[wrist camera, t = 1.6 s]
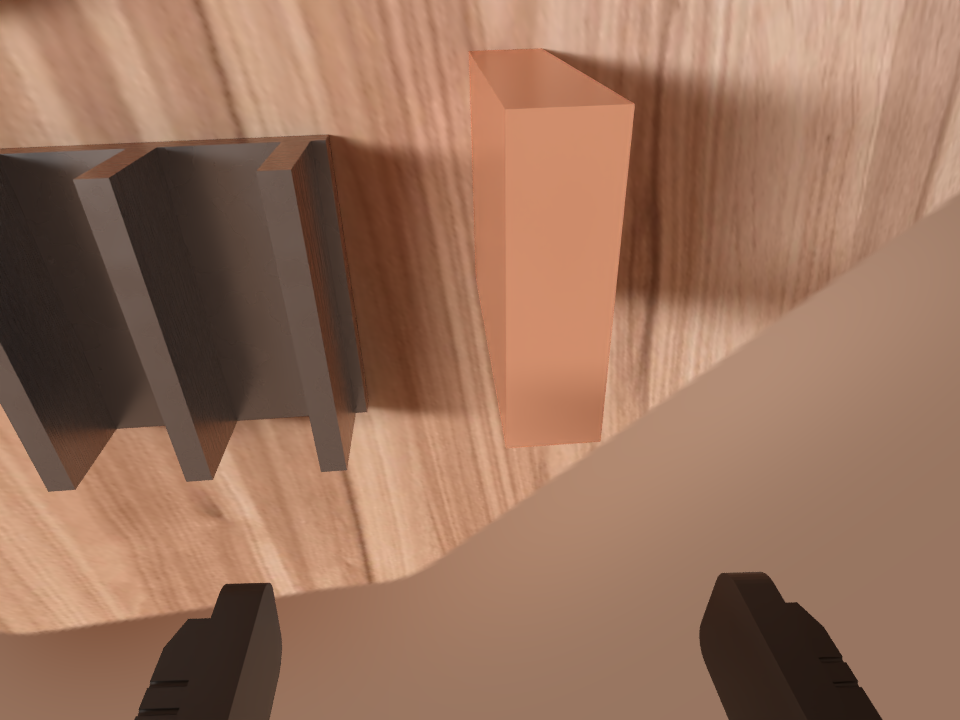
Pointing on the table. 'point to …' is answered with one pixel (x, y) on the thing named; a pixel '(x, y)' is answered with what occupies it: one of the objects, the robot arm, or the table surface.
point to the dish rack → (174, 298)
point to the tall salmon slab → (547, 237)
